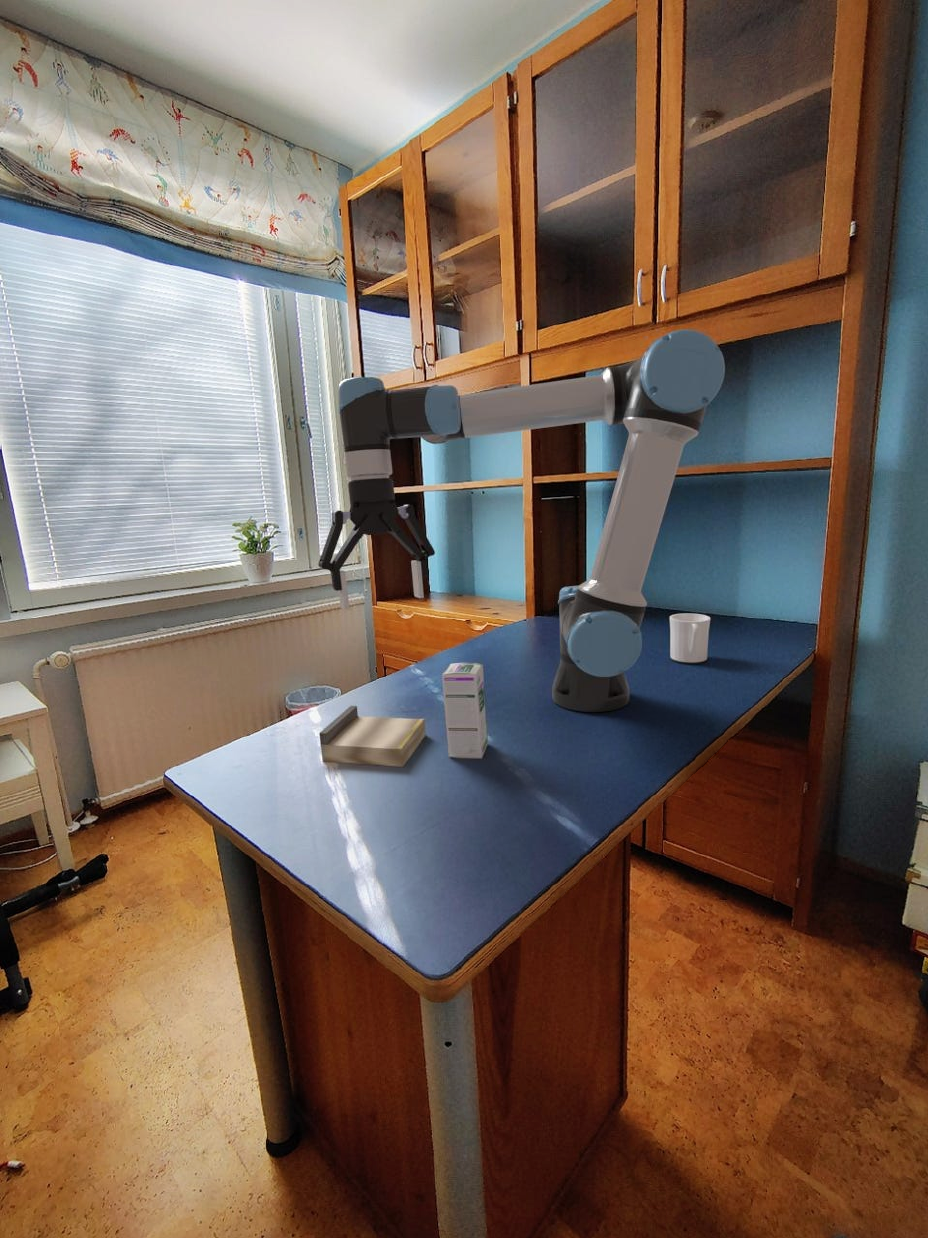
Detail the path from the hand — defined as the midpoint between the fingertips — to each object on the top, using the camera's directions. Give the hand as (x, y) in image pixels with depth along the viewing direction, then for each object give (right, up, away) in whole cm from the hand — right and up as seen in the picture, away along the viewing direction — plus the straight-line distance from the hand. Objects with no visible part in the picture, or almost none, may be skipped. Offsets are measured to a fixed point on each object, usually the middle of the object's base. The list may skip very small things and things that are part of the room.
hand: (383, 602), depth 100 cm
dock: (-1, -25, -2) cm, 25 cm away
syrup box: (+15, -25, -5) cm, 29 cm away
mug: (+67, -13, +35) cm, 77 cm away
